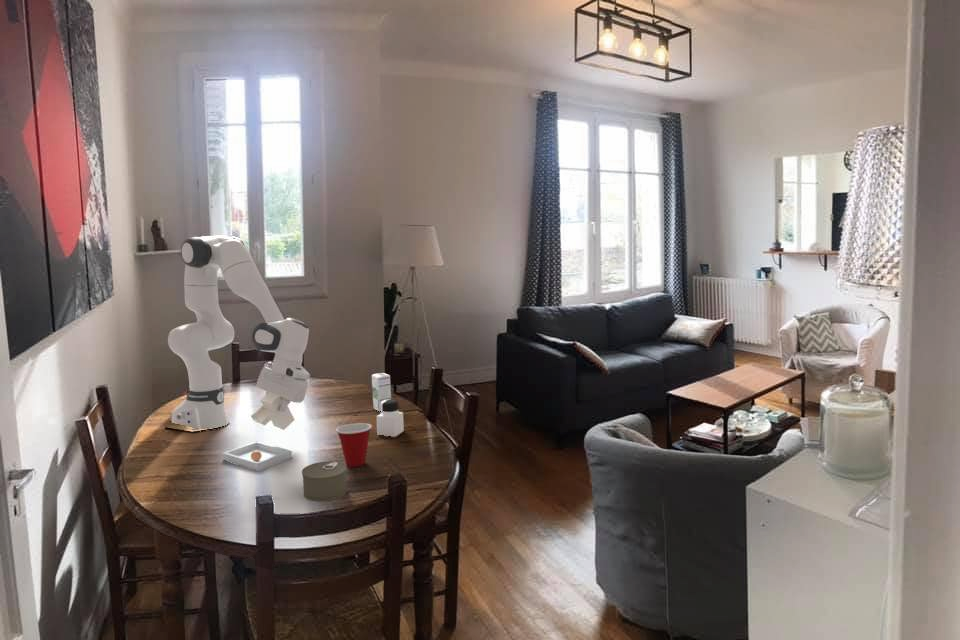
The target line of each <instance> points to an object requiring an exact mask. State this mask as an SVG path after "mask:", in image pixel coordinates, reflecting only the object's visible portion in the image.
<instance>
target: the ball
mask: <svg viewBox="0 0 960 640" xmlns="http://www.w3.org/2000/svg"><path fill="white" fill-rule="evenodd" d="M261 456H262V455H261V453H260V452H259V451H254V452H252V454H251V459H252V460H253V461H259V460H260V459H261Z"/></svg>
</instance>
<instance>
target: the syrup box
mask: <svg viewBox="0 0 960 640" xmlns="http://www.w3.org/2000/svg"><path fill="white" fill-rule="evenodd" d="M371 388H372V389H371V390H372V407H373V408H372V409H373V410H374V409H375V410H374V411H376V410H377V411H376V412H378V411H379V412H378V413H381V412H380V411H381V402H382V401H384V400H388V399H392V392H391V391H392V389H391V388H392V387H391V375H390V374H387V373H385V372H380V373H374V374H371Z"/></svg>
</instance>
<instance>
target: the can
mask: <svg viewBox="0 0 960 640" xmlns="http://www.w3.org/2000/svg"><path fill="white" fill-rule="evenodd" d="M347 467H348V466H347V465H346V464H344V463H342V462H339V461H321V462H314V463H312V464H309V465H306V466H305V467H304V468H302V471H301V475H302V484H303V487H302V488H303V497H304V498H305V499H306V500H308V501H311V502H318V503H319V502H320V503H321V502H329V501H334V500H337V499H340V498H342V497H343V496H344V495H346V494H347V492H348V489H347V470H348V469H347Z"/></svg>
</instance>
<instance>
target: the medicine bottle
mask: <svg viewBox="0 0 960 640" xmlns="http://www.w3.org/2000/svg"><path fill="white" fill-rule="evenodd" d="M404 425H405V424H404V412H403V411H399V401H398V400H396V399H392V398H391V399H388V400H384V401H382V402H381V412H380V414H378V415H376V435H377V436H379V435H384V436H383V437H388V436H391V438H396V437H397V436H399V435H400V434H402V433H403V432H404V431H405V430H404V428H405V427H404Z"/></svg>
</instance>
